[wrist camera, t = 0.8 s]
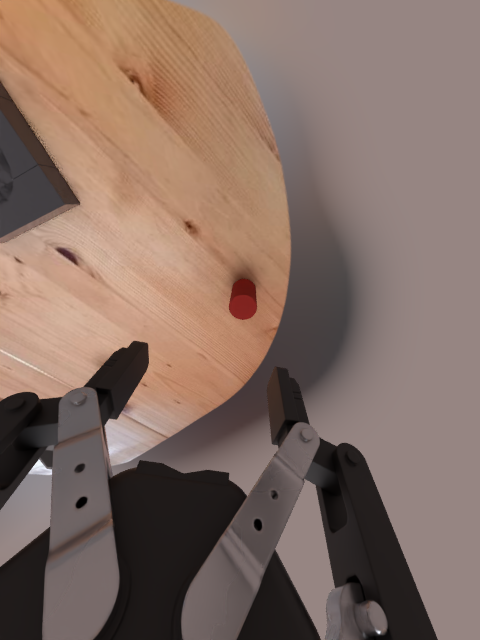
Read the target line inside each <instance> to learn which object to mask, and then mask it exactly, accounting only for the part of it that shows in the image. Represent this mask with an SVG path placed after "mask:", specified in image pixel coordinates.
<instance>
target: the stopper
mask: <svg viewBox="0 0 480 640" xmlns="http://www.w3.org/2000/svg"><path fill="white" fill-rule="evenodd" d="M229 310H230V313H231V314H232V315H233V316H234V317H235V318H237V319H242V320H244V319H249V318H251V317H252V316H253V315H254V314H255V313H256V310H257V301H256V288H255V285H254V284H253V282H252V281H250V280H248V279H240V280H238V281H236V282H235V283H234V285H233V288H232V293H231V298H230V303H229Z"/></svg>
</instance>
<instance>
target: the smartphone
mask: <svg viewBox="0 0 480 640" xmlns="http://www.w3.org/2000/svg"><path fill="white" fill-rule="evenodd" d="M54 446H55V445H51V446H48V447H47V449H46V450H45V451H44V453H43V454H42V455H41V457H40V458H39V459H40V461H41V462H42V463H43V465H44V466H45V467H46V468H47V469H53V450H54Z"/></svg>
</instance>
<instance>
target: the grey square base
mask: <svg viewBox="0 0 480 640" xmlns="http://www.w3.org/2000/svg"><path fill="white" fill-rule="evenodd" d="M79 204H80V203H79V202H78V200H77V199H76V197H75V195H74V194H73V192H72V191H71V189H70V188H69V186H68V185H67V183H66V182H65V180H64V179H63V177H62V176H61V174H60V173H59V171H58V170H57V168H56V167H55V165H54V163H53V162H52V160H51V159H50V157H49V156H48V154H47V153H46V151H45V150H44V148H43V147H42V145H41V144H40V142H39V141H38V139H37V138H36V136H35V134H34V133H33V131H32V130H31V128H30V127H29V125H28V124H27V122H26V121H25V119H24V118H23V116H22V115H21V113H20V112H19V110H18V109H17V107H16V105H15V104H14V103H13V101H12V99H11V98H10V96H9V95H8V93H7V92H6V90H5V89H4V87H3V86H2V84H1V82H0V243H4V242H6V241H8V240H10V239H12V238H14V237H16V236H18V235H20V234H22V233H24V232H26V231H28V230H30V229H32V228H34V227H36V226H38V225H40V224H42V223H44V222H46V221H48V220H50V219H52V218H54V217H56V216H58V215H60V214H62V213H64V212H66V211H68V210H70V209H71V208H73V207H75V206H77V205H79Z"/></svg>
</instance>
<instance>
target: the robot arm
mask: <svg viewBox="0 0 480 640" xmlns="http://www.w3.org/2000/svg"><path fill="white" fill-rule="evenodd" d="M148 364H149V354H148V343H145V342H139V341H133V342H132V343H131V344H130V346H129V347H128V348H121V349H119V350H118V351H116V352H114V353H113V354H112V355H111V357H110V358H109V359H108V360H107V361H106V362H105V363H104V365H103V366H102V367H101V368H100V369H99V370H98V371H97V372H96V373H95V374H94V376H93V377H92V378H91V379H90V380H89V381H88V382H87V383H86V385H85V386H84V387H81V388H77V389H74V390H72V391H70V392H68V393H67V394H66V395H64V396H63V397H58V398H49V399H39V398H38V396H37V395H36V394H35V393H32V392H22V393H17V394H14V395H11V396H9V397H7V398H5V399H3V400H2V401H0V510H1V508H2V507H3V506H4V504H5V503H6V502H7V500H8V499H9V498H10V496H11V495H12V494H13V493H14V491H15V490H16V488H17V487H18V486H19V485H20V483H21V482H22V481H23V479H24V478H25V476H26V475H27V474H28V473H29V471H30V470H31V469H32V467H33V466H34V465H35V463H36V462H37V461H38V459H39V458H40V457H41V455H42V454H43V453H44V451H45V450H46V449H47V447H48V446H51V445H55V446H54V450H53V469H52V496H51V520H50V527H49V528H48V529H47V530H45V531H44V532H43V533H42V534H40V535H39V536H38V537H37V538H36V539H34V540H33V541H32V542H31V543H29V544H28V545H27V546H26V547H24V548H23V549H22V550H21V551H19V552H18V553H17V554H16V555H14V556H13V557H12V558H11V559H10V560H8V561H7V562H6V563H5V564H3V565H2V566H1V567H0V640H321V639H320V636H319V634H318V632H317V629H316V627H315V626H314V623H313V622H312V619H311V617H310V616H309V614H308V612H307V610H306V608H305V606H304V604H303V602H302V600H301V598H300V596H299V594H298V593H297V590H296V589H295V587H294V585H293V583H292V581H291V579H290V577H289V575H288V573H287V571H286V569H285V567H284V565H283V563H282V562H281V560H280V558H279V556H278V554H277V552H276V550H275V548H276V546H277V543H278V541H279V539H280V537H281V534H282V532H283V530H284V528H285V525H286V523H287V521H288V518H289V516H290V514H291V512H292V510H293V507H294V505H295V503H296V501H297V499H298V496H299V494H300V492H301V490H302V487H303V485H304V479H306V480H308V481H310V482H311V483H313V484H315V485H316V489H317V495H318V500H319V505H320V511H321V516H322V521H323V527H324V531H325V537H326V542H327V548H328V553H329V559H330V564H331V569H332V574H333V580H334V585H335V589H333V590H332V591H331V592H330V593H329V596H328V599H327V604H326V613H327V631H326V636H325V640H438V639H437V637H436V634H435V632H434V629H433V627H432V624H431V622H430V619H429V617H428V614H427V612H426V609H425V607H424V604H423V602H422V599H421V597H420V594H419V592H418V590H417V587H416V584H415V582H414V580H413V577H412V574H411V572H410V569H409V567H408V564H407V562H406V559H405V557H404V554H403V552H402V550H401V547H400V544H399V542H398V539H397V537H396V535H395V532H394V530H393V527H392V525H391V522H390V520H389V518H388V515H387V512H386V510H385V507H384V505H383V502H382V500H381V497H380V495H379V492H378V490H377V487H376V485H375V482H374V480H373V477H372V475H371V473H370V470H369V467H368V465H367V463H366V460H365V458H364V457H363V455H362V454H361V452H360V451H359V450H358V449H357V448H355V447H354V446H352V445H350V444H348V443H341V444H339V445H338V446H335V445H333V444H331V443H329V442H327V441H324V440H323V439H321V438H320V437H319V436H318V434H317V432H316V431H315V430H314V428H313V427H311V426H310V424H309V421H308V417H307V413H306V410H305V406H304V402H303V400H302V399H303V398H302V395H301V391H300V387H299V385H298V383H297V382H296V380H295V379H294V378H289V374H288V370H287V369H286V368H280V367H275V368H274V370H273V372H272V375H271V377H270V380H269V382H268V387H267V397H268V408H269V418H270V429H271V439H272V444H273V445H278V448H279V449H278V451H277V452H276V454H275V455H274V456H273V458H272V459H271V461H270V462H269V464H268V465H267V467H266V468H265V470H264V472H263V473H262V475H261V476H260V478H259V479H258V481H257V482H256V484H255V485H254V487H253V489H252V490H251V492H250V493H249V495H248V496H247V495H246V494H245V493H244V492H243V490H242V489H241V488H240V487H238V486H237V485H236V484H234V483H233V482H232V481H230V480H229V473H226V472H219V471H212V470H204V471H197V472H191V473H185V474H184V473H181V472H178V471H177V470H175V469H173V468H171V467H168V466H167V465H164V464H162V463H156V462H149V461H141V460H140V461H139V464H138V466H137V467H136V468H132V469H128V470H125V471H123V472H120V473H119V474H117V475H115V476H113V474H112V469H111V464H110V458H109V451H108V444H107V438H106V431H105V424H106V422H107V421H108V419H116V420H117V418H118V417H119V415H120V413H121V412H122V410H123V408H124V407H125V405H126V403H127V402H128V400H129V398H130V397H131V395H132V394H133V392H134V390H135V389H136V387H137V385H138V384H139V382H140V380H141V379H142V377H143V375H144V374H145V372H146V370H147V368H148Z"/></svg>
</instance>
